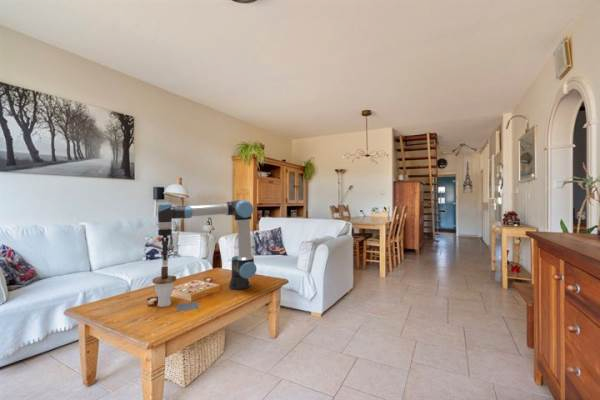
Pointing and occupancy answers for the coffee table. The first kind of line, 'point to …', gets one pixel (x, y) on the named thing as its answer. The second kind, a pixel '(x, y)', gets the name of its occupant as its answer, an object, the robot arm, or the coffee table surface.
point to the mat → (187, 306)
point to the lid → (164, 277)
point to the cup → (164, 293)
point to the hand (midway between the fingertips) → (165, 263)
